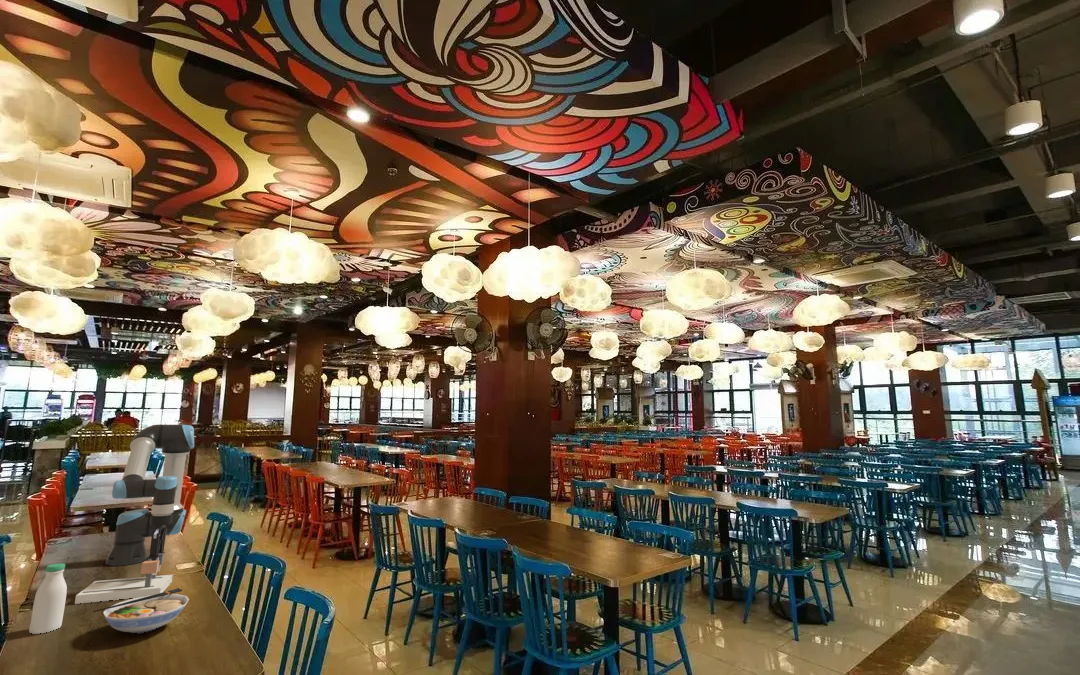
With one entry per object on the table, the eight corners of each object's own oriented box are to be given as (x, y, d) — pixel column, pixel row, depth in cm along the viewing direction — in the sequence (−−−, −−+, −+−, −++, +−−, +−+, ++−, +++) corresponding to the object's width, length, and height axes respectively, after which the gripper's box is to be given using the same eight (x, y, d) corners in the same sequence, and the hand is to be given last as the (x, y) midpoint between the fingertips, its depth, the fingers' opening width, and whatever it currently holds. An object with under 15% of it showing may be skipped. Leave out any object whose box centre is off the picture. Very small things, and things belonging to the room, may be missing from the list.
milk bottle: (67, 627, 168) (77, 563, 171) (37, 636, 160) (49, 569, 164) (52, 623, 170) (62, 560, 173) (22, 632, 163) (34, 566, 166)
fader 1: (147, 576, 210) (150, 554, 211) (161, 575, 212) (164, 553, 213) (144, 579, 207) (147, 555, 209) (159, 577, 209) (162, 554, 211)
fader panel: (94, 588, 204) (95, 580, 204) (171, 582, 214) (172, 574, 215) (74, 604, 188) (76, 595, 188) (159, 596, 198) (160, 587, 198)
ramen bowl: (111, 652, 151) (116, 622, 152) (83, 633, 163) (87, 606, 164) (202, 625, 172) (205, 599, 173) (171, 610, 184) (174, 586, 185)
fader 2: (141, 585, 199) (144, 561, 201) (156, 584, 201) (159, 560, 203) (138, 587, 197) (142, 563, 198) (154, 586, 199) (157, 562, 200)
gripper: (156, 511, 220) (149, 568, 216) (144, 518, 204) (136, 580, 201) (177, 510, 223) (170, 566, 219) (167, 517, 207) (159, 578, 203)
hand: (153, 573), depth 210 cm, fingers open, 4 cm apart
